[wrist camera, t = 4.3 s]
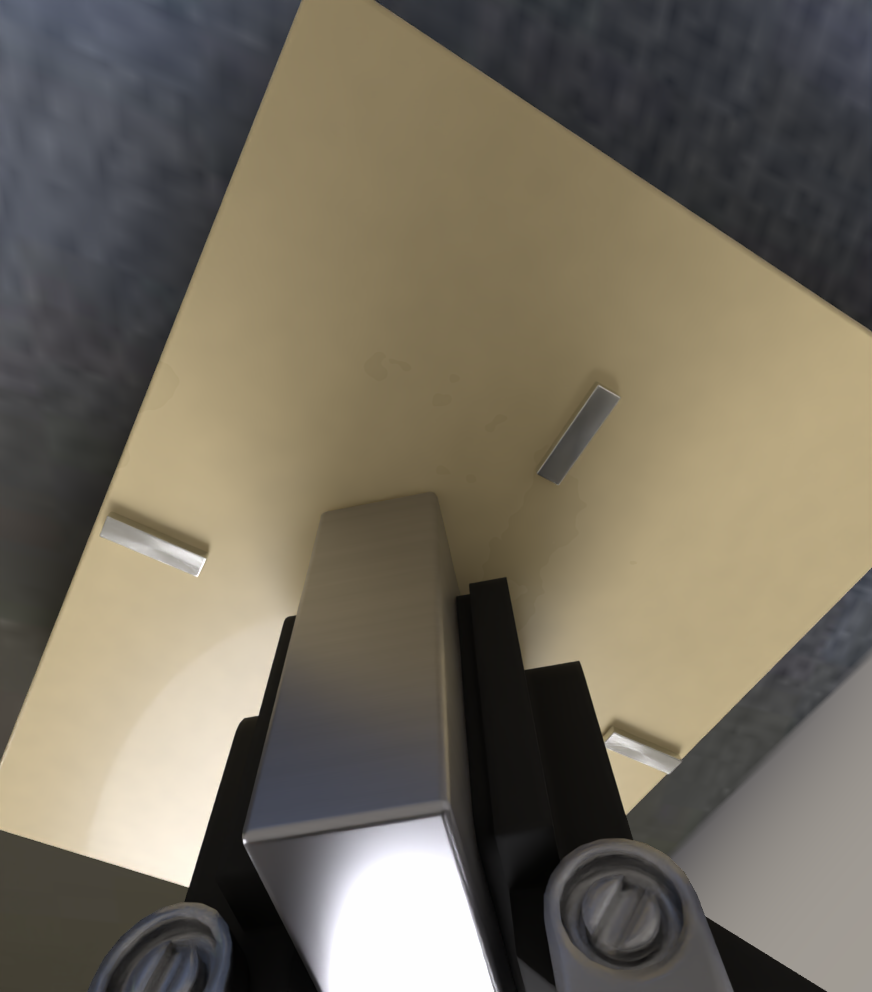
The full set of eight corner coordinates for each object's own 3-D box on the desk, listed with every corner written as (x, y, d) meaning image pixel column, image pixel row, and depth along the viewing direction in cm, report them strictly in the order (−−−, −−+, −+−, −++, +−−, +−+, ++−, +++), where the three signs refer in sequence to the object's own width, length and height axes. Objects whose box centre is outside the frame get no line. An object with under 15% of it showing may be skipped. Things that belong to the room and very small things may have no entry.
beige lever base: (344, 4, 10) (313, -43, 7) (883, 358, 12) (1024, 431, 9) (52, 700, 15) (-31, 832, 12) (461, 846, 18) (470, 983, 15)
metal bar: (319, 510, 10) (227, 871, 5) (436, 487, 10) (452, 836, 5) (408, 787, 12) (401, 1198, 8) (501, 773, 12) (552, 1179, 7)
